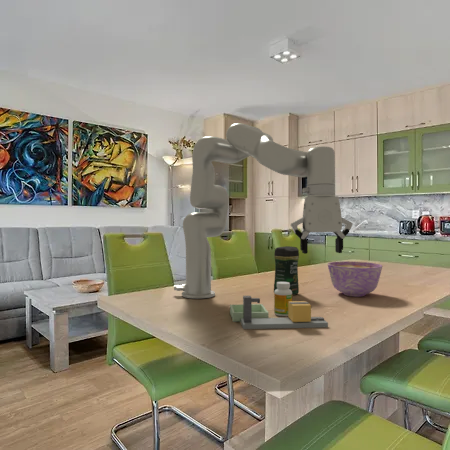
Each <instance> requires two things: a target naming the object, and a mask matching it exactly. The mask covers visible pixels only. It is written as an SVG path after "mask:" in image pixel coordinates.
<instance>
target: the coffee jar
mask: <svg viewBox="0 0 450 450" xmlns="http://www.w3.org/2000/svg"><path fill="white" fill-rule="evenodd" d="M273 253H274V257H273V258H274V263H275V266H274V267H275V269H274V283H273V293H274V292H275V290H276V289H277V282H289V283H290V288H289V289H290V290H291V291H292V296H295V295H298V294H299V293H300V290H299V288H300V287H299V286H300V285H299V271H298V270H299V268H298V264H299V258H300V250H299V248H298V247H296V246H287V245H286V246H278V247H276V248H274V252H273Z"/></svg>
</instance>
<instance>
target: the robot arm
mask: <svg viewBox="0 0 450 450" xmlns="http://www.w3.org/2000/svg"><path fill="white" fill-rule="evenodd" d="M225 136H226V137H225V138H222V137H217V136H210V135H209V136H203V137H201V138H200V139H198V140H197V141H196V143H195V144H194V146H193V151H192V154H191V155H192V156H191V157H192V158H191V159H192V174H191V175H192V176H191V184H190V194H189V195H190V196H189V203H190V205H191V206H192V207H193V208H195V209H199V210H208V212H203V211H202V212H191V213H188V214H187V215H186V216H185V217H184V219H183V221H182V230H183V234H184V240H185V241H184V242H185V283H184V284H182V285H181V284H180V285H179V284H174V285H173V290H174V291H176V292H178V291H179V292H180V291H181V296H182V297H183V298H185V299H186V298H187V299H194V300H195V299H198V300H199V299H202V300H203V299H210V298H212V297H215V296H216V295H215V294H216V292H215V290H212V251H211V250H212V249H211V245H210V243H209V241H208V238H215V237H216V238H217V237H219V236H221V235H222V234H223V233H225V229H226V225H227V218H228V212H229V211H228V210H229V202H230V201H229V193H228V192H227V189H226V188H225V187H224V186H222V185H219V184H215V178H216V170H215V167H214V164H213V163H212V162H218V163H223V164H229V165H233V164H238V163H239V162H241V161H243V160H245V159H246V158H248V157H249V158H250V157H252V158H254V159H255V160H256V161H257V162H258V163H259V164H261V165H262V166H263V167H265V168H266V169H269V170H271V171H273V172H275V173H277V174H280V175H284V176H289V177H290V176H291V177H297V178H307V179H306V180H307V183H306V187H303V188H302V191H301V192H302V193H305V194H306V197H305V198H304V202H303V210H302V217H300V218H298V219H297V220H295V221H293V222H291V223H290V227H291V229H292V230H293V232H294V234H295V235H296V236H297V238H299V240H300V242H299V244H300V247H299V248H300V251H301V253H302V254H308V251H309V250H308V244H309V243H308V238H307V237H308V236H309V234H310V233H333V234H334V236H336V238H335V240H334V241H335V243H334V244H335V253H338V254H342V253H343V250H344V239H346V237H347V235H348V234H349V233H350V231H351V229H352V227H353V225H354V224H353V222H351V221H349V220H347V218H343V217H342V211H341V210H342V208H341V203H340V199H339V198H340V197H339V196H338V195H336V153H335V149H334V148H332V147H331V146H315V147H311V148H310V149H308V151H302V150H297V149H294V148H289V147H287V146H285V145H282V144H279V143H277V142H274V139H273V137H272V136H271V135H270V134H268V133H266V132H263V131H262V129H260V128H259V127H257V126H252V125H250V124H245V123H241V122H240V123H239V122H237V123H233V124H231V125H230V126H229V127H228V128H227V130H226V134H225ZM301 224H302V231H300V229H299V228H298V226H299V225H301ZM343 225H344V228H343ZM342 229H343V230H342Z"/></svg>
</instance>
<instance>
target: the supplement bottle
mask: <svg viewBox="0 0 450 450" xmlns="http://www.w3.org/2000/svg"><path fill="white" fill-rule="evenodd" d="M289 288H290V283H289V282H277V289H276V290H275V292H274V291H273V293H274V296H273V297H274V299H273V300H274V301H273V302H274V303H273V304H274V305H273V307H274V308H273V309H274V310H273V311H274V315H276V316H277V317H288V301H293V295H292V291H291V290H290V289H289Z"/></svg>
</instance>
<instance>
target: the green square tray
mask: <svg viewBox="0 0 450 450" xmlns="http://www.w3.org/2000/svg"><path fill="white" fill-rule="evenodd" d="M263 304H264V303H253V304H252V318H269V311H268V310H267V308H266V307H265V306H264V305H263ZM229 314H230V317H231V320H232V322H233V323H241V318H243V303H242V304H229Z"/></svg>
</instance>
